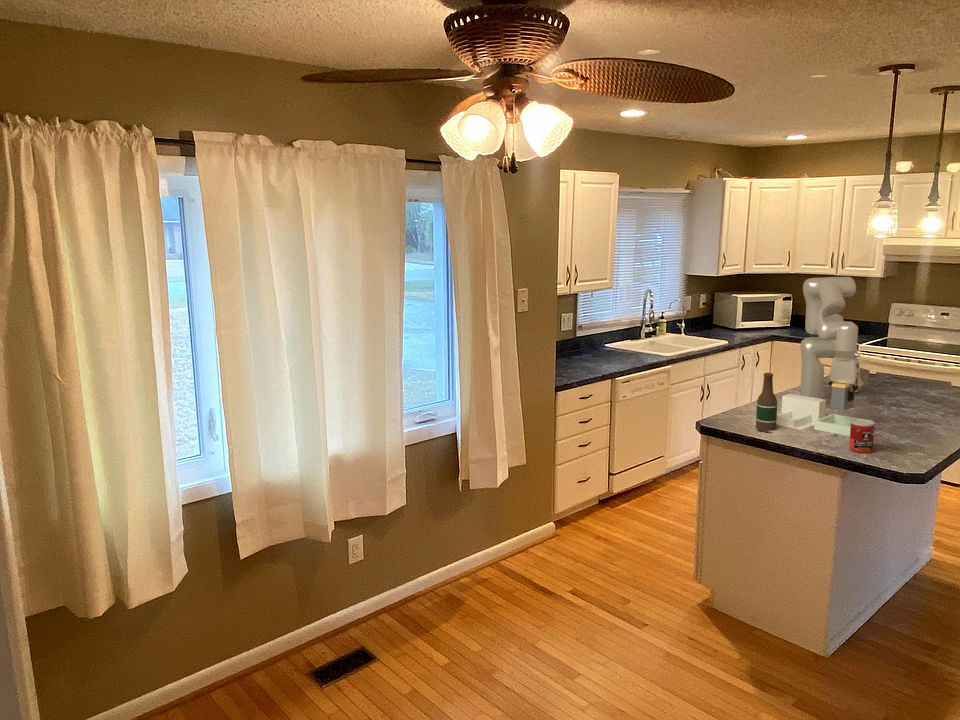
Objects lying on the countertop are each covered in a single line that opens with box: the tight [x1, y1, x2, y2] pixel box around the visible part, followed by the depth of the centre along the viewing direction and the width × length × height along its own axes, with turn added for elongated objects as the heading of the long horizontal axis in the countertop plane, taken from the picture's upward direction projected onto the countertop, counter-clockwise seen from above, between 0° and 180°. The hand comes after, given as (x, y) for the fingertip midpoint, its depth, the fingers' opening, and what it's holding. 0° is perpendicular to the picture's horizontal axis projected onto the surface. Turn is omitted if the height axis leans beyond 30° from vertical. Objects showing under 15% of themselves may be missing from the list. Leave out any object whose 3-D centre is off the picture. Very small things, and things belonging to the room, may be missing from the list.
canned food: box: [848, 418, 876, 454], centre depth 252 cm, size 8×8×11 cm
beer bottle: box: [755, 372, 778, 434], centre depth 280 cm, size 8×8×24 cm
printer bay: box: [776, 393, 827, 431], centre depth 290 cm, size 20×16×10 cm
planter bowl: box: [855, 367, 871, 391], centre depth 344 cm, size 16×16×11 cm
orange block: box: [830, 383, 856, 411], centre depth 275 cm, size 9×5×10 cm, turn 129°
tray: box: [813, 413, 861, 440], centre depth 277 cm, size 16×14×4 cm
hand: (842, 399), depth 275 cm, fingers closed on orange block, 5 cm apart
